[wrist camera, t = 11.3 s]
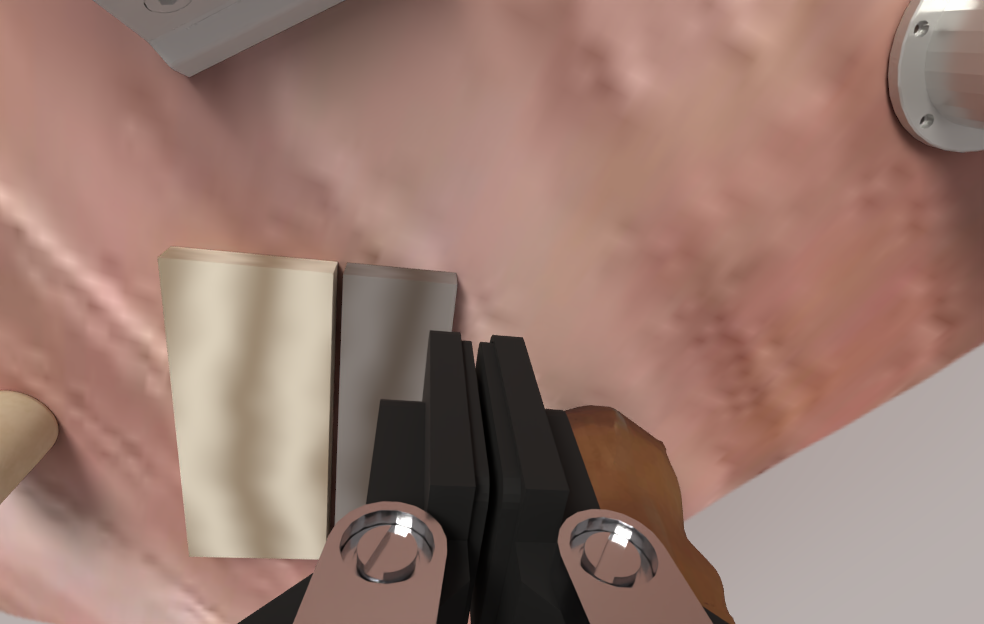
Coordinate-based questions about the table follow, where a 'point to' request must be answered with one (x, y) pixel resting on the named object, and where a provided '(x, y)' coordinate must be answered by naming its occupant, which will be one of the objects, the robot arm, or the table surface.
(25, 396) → the candle
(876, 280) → the table surface
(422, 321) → the floor board
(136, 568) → the table surface
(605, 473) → the butternut squash
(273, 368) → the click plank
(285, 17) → the grey flat curved part
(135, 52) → the table surface
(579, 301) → the table surface
